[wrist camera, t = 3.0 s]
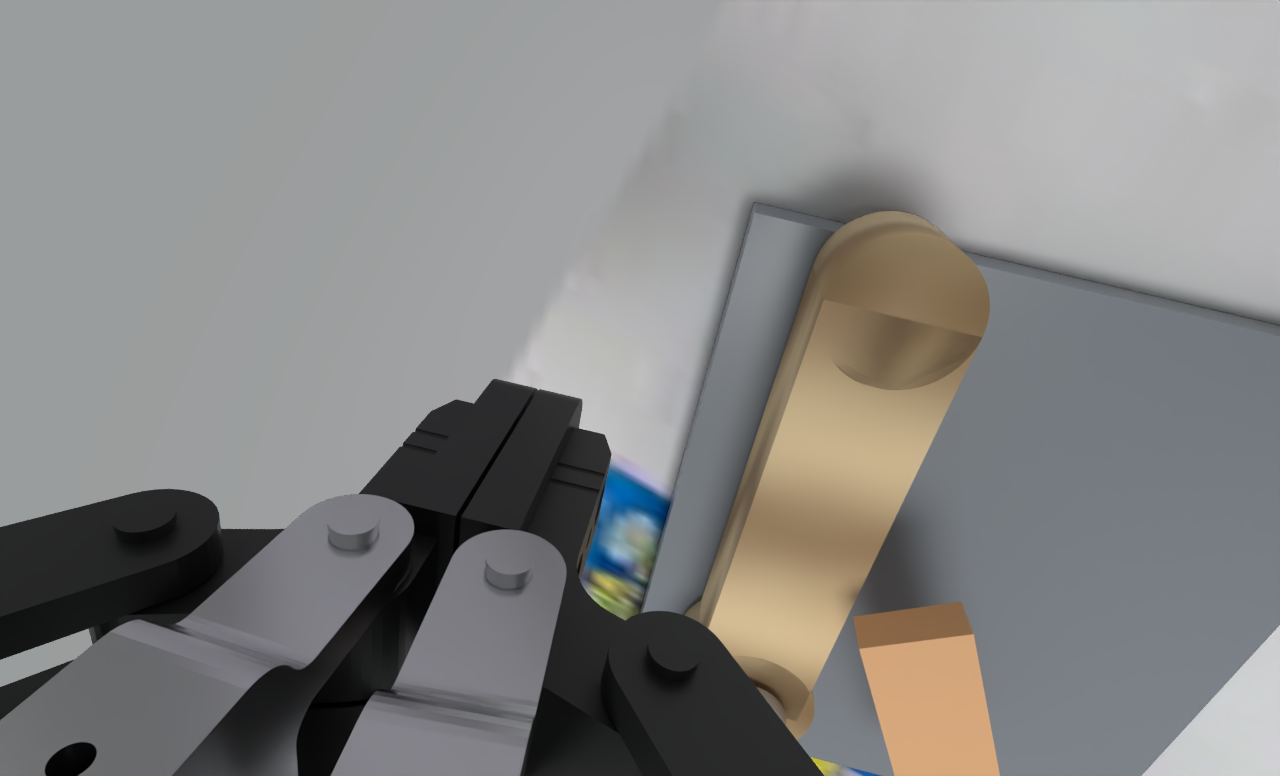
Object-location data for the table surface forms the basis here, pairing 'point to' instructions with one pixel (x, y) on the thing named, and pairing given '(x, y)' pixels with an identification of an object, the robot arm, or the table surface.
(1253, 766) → the table surface
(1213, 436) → the base plate
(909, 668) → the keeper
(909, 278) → the latch lever
